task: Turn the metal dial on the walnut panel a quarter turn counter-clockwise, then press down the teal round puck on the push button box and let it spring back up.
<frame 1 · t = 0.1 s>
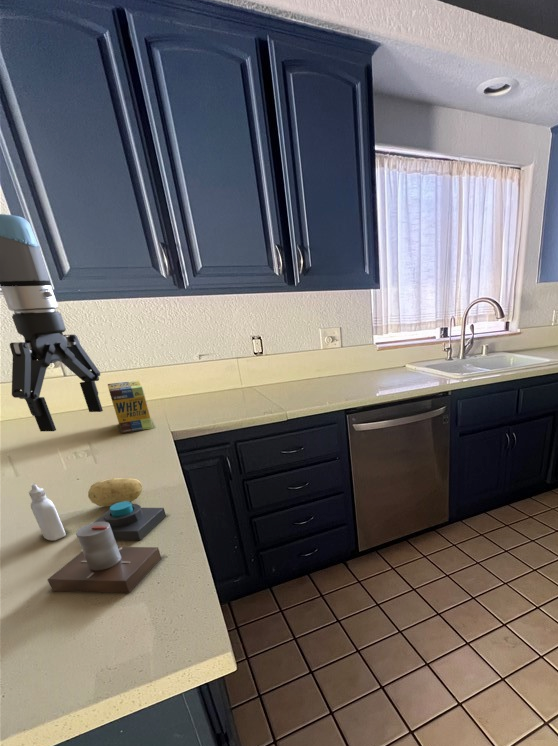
hand: (74, 420, 89), 22 cm above the counter, tool pointing down, fingers open, 13 cm apart
dial: (99, 545, 75), point 6 cm above the counter, hinge at 0.0°
protein box: (136, 426, 162), on the counter
potato: (120, 504, 103), on the counter
eye dropper bottle: (55, 536, 90), on the counter
push button box: (127, 527, 92), on the counter
teal round puck: (121, 509, 90), point 4 cm above the counter, slide at 0.1 cm
dial panel: (109, 573, 77), on the counter
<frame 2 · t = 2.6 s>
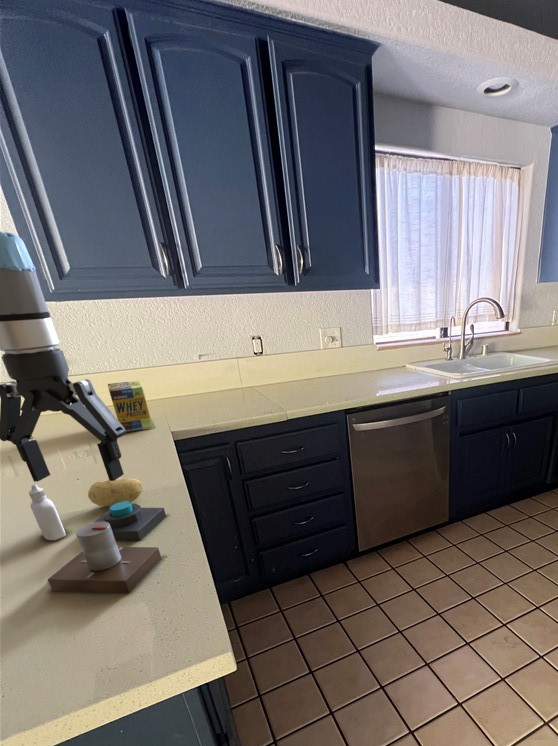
hand: (79, 478, 73), 18 cm above the counter, tool pointing down, fingers open, 13 cm apart
nothing on the counter moved.
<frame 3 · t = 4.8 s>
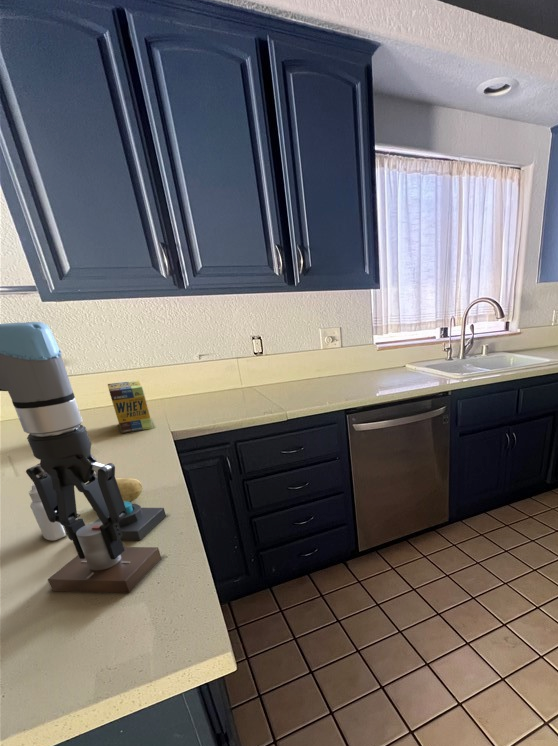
hand: (102, 554, 76), 4 cm above the counter, tool pointing down, fingers closed on dial, 5 cm apart
dial: (99, 545, 75), point 6 cm above the counter, hinge at 0.0°, touching gripper
everything else where it was.
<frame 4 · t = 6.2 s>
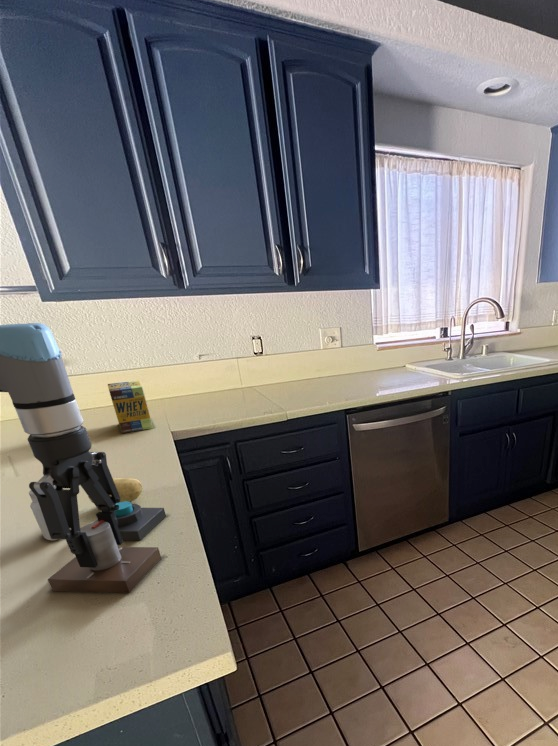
hand: (102, 554, 76), 4 cm above the counter, tool pointing down, fingers open, 6 cm apart
dial: (99, 545, 75), point 6 cm above the counter, hinge at 89.2°
everything else where it was.
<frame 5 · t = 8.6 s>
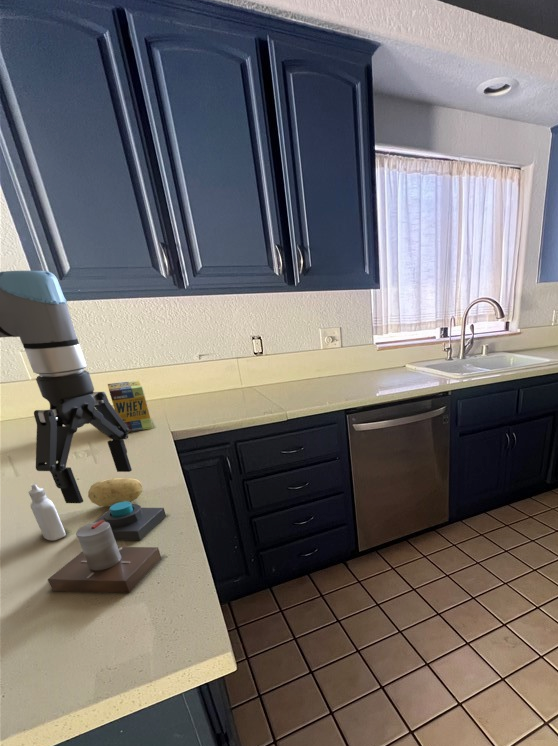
hand: (101, 485, 81), 13 cm above the counter, tool pointing down, fingers open, 13 cm apart
nothing on the counter moved.
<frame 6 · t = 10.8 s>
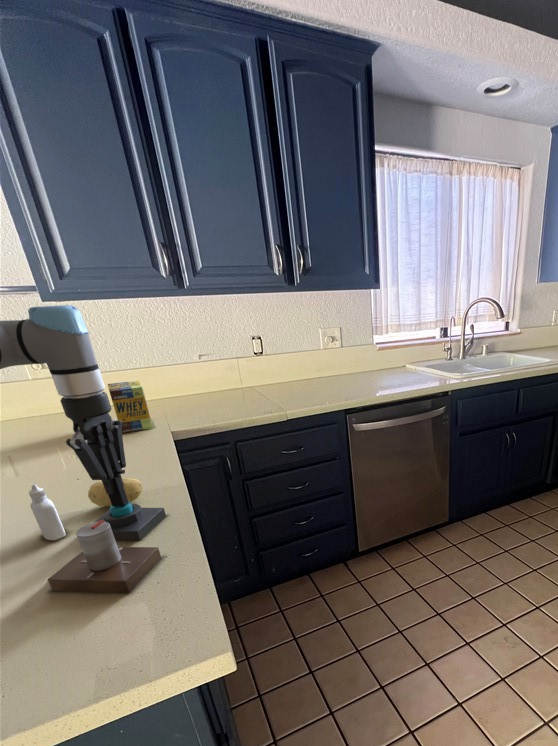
hand: (120, 504, 90), 6 cm above the counter, tool pointing down, fingers closed
teal round puck: (121, 509, 90), point 4 cm above the counter, slide at 0.1 cm, touching gripper
everything else where it was.
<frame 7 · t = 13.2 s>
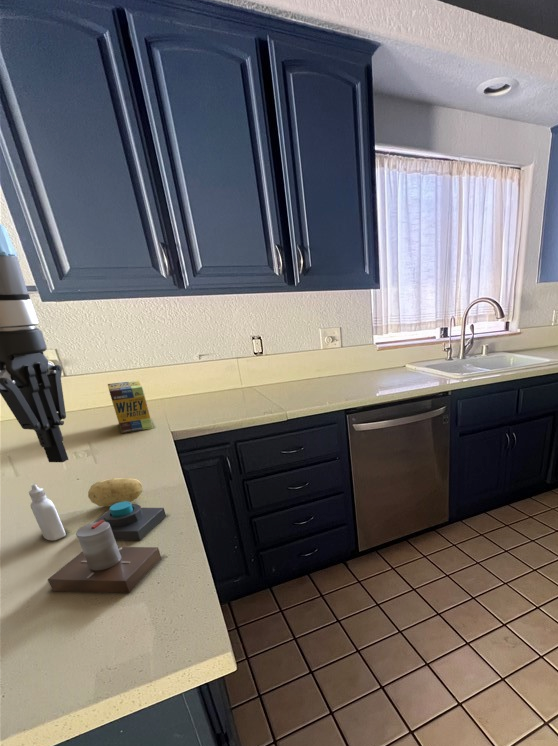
hand: (58, 460, 80), 18 cm above the counter, tool pointing down, fingers closed
teal round puck: (121, 509, 90), point 4 cm above the counter, slide at 0.1 cm
everything else where it was.
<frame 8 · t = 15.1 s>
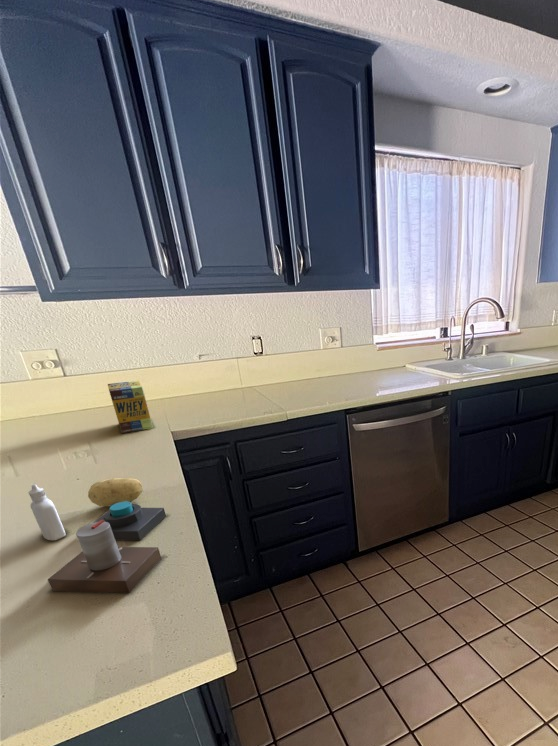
nothing on the counter moved.
at the end: dial at +89° (first picture: +0°); teal round puck pushed in 1.0 cm at the most during the clip, back to where it started at the end; teal round puck slide at 0.1 cm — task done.
